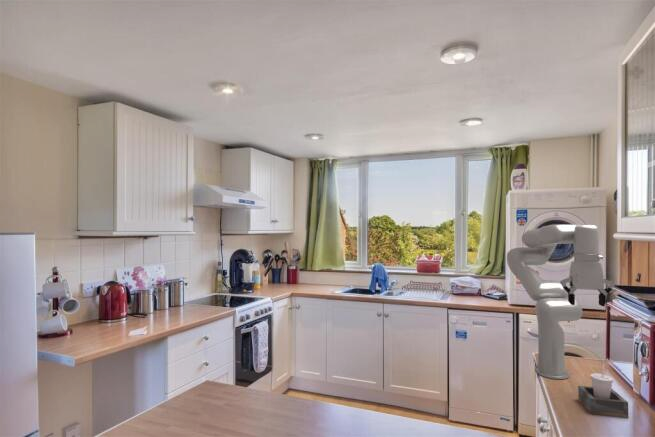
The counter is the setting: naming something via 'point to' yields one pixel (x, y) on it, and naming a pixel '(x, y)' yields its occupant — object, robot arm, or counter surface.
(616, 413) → the frame
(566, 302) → the robot arm
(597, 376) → the smoothie
